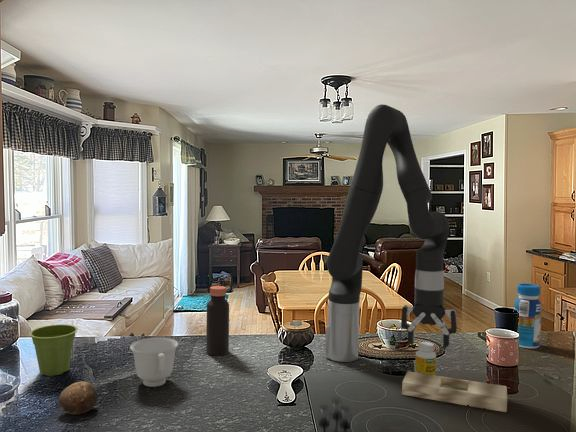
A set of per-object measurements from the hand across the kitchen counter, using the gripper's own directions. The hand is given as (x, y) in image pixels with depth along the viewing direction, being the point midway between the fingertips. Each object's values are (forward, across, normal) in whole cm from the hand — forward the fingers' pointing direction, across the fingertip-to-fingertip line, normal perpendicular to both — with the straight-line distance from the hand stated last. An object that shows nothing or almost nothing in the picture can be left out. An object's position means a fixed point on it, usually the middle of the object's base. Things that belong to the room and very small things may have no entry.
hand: (428, 346), depth 138 cm
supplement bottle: (+9, -1, 0) cm, 9 cm away
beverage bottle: (+10, +27, +43) cm, 52 cm away
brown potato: (+8, -72, -51) cm, 88 cm away
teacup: (+8, -64, -32) cm, 72 cm away
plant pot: (+7, -94, -36) cm, 101 cm away
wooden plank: (+9, +7, -10) cm, 15 cm away
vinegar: (+8, -62, -4) cm, 62 cm away
